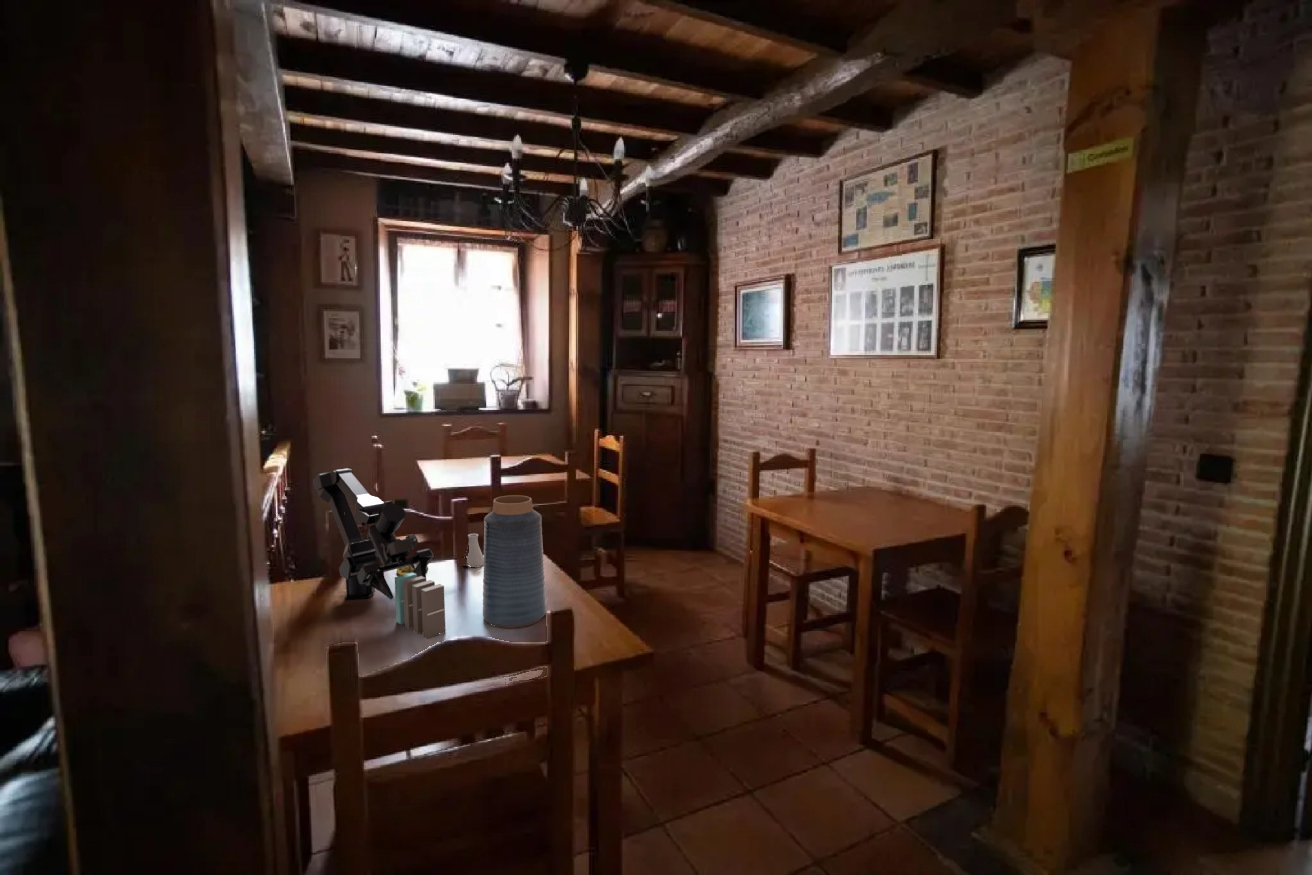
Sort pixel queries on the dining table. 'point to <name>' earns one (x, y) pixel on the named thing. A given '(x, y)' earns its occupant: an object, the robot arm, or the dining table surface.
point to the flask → (474, 552)
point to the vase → (513, 564)
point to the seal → (407, 570)
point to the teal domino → (401, 596)
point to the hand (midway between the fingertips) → (409, 593)
